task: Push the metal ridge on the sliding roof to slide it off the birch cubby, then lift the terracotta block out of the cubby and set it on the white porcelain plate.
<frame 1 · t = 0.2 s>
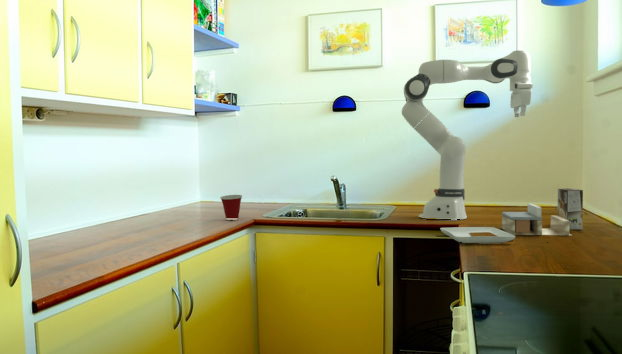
hand: (519, 116, 224), 48 cm above the worktop, tool pointing down, fingers open, 8 cm apart
plastic cup: (231, 220, 237), on the worktop
coffee box: (569, 228, 199), on the worktop
terracotta block: (521, 231, 187), point 1 cm above the worktop, touching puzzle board
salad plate: (475, 240, 178), on the worktop
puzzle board: (521, 233, 187), on the worktop
sliding roof: (521, 211, 187), point 9 cm above the worktop, slide at 0.0 cm
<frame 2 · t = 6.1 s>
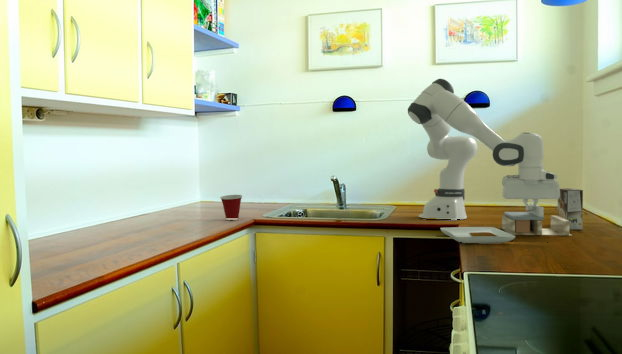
hand: (530, 210, 186), 9 cm above the worktop, tool pointing down, fingers closed
sliding roof: (523, 211, 187), point 9 cm above the worktop, slide at 0.8 cm, touching gripper
everything else where it was.
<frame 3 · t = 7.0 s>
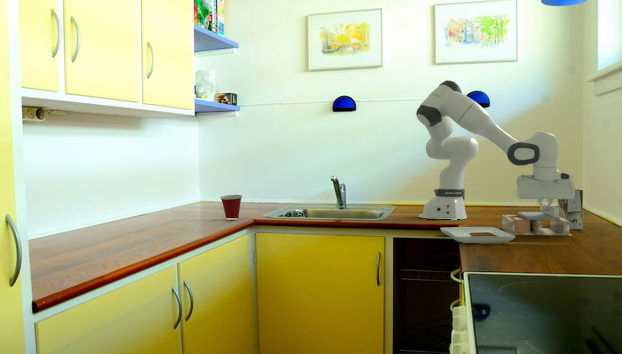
hand: (545, 210, 185), 9 cm above the worktop, tool pointing down, fingers closed
sliding roof: (537, 211, 186), point 9 cm above the worktop, slide at 6.1 cm, touching gripper
everything else where it was.
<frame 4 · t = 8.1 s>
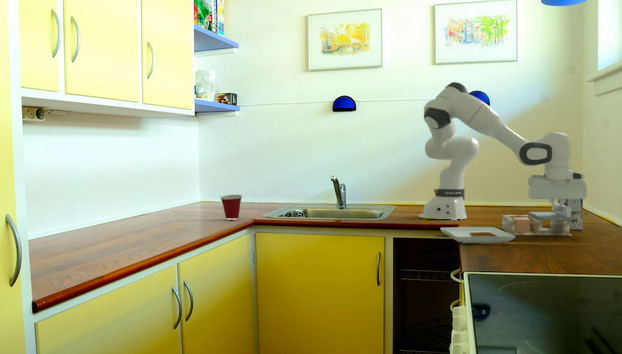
hand: (556, 210, 184), 9 cm above the worktop, tool pointing down, fingers closed
sliding roof: (549, 211, 185), point 9 cm above the worktop, slide at 10.4 cm, touching gripper
everything else where it was.
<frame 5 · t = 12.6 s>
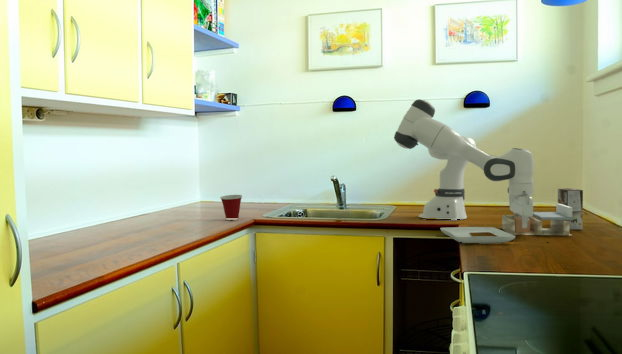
hand: (520, 225, 187), 3 cm above the worktop, tool pointing down, fingers open, 8 cm apart
sliding roof: (550, 211, 185), point 9 cm above the worktop, slide at 10.8 cm
everything else where it was.
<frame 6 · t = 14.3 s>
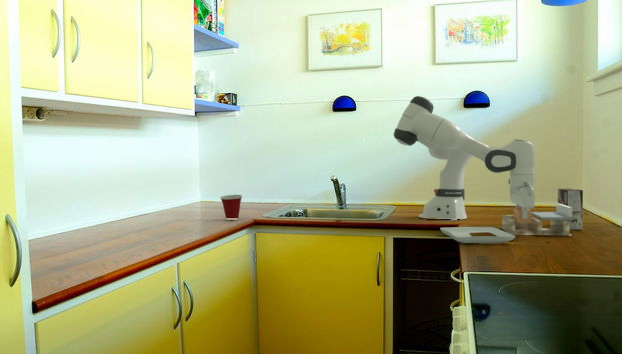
hand: (522, 217, 187), 7 cm above the worktop, tool pointing down, fingers closed on terracotta block, 5 cm apart
terracotta block: (522, 221, 187), point 5 cm above the worktop, touching gripper
everything else where it was.
when the fingers open (5 cm above the worktop, at t = 19.5 s): terracotta block stays where it is, resting on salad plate.
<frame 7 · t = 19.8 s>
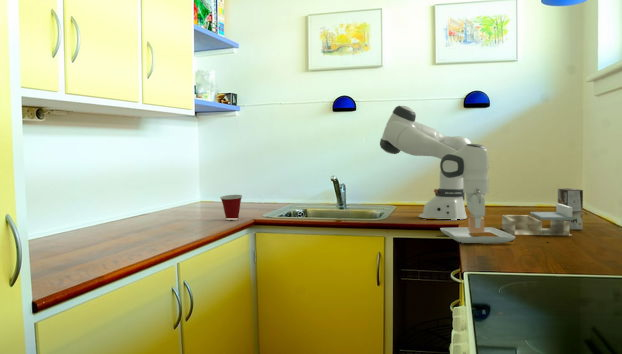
hand: (475, 225, 178), 5 cm above the worktop, tool pointing down, fingers open, 8 cm apart
terracotta block: (476, 231, 178), point 3 cm above the worktop, touching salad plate
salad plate: (475, 241, 178), on the worktop, touching terracotta block
everything else where it was.
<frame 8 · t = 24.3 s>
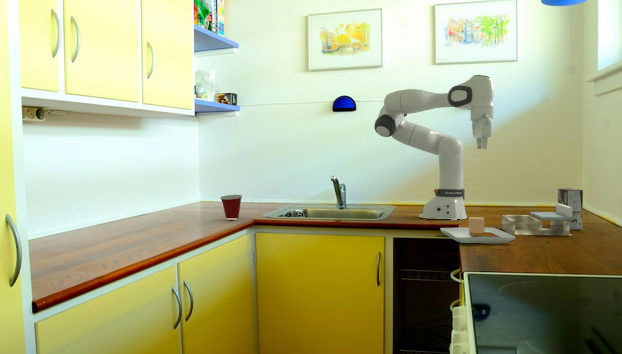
hand: (481, 149, 197), 33 cm above the worktop, tool pointing down, fingers open, 8 cm apart
nothing on the worktop moved.
at the end: sliding roof slide at 10.8 cm; terracotta block 0.3 cm from the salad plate (horizontally); terracotta block point 2.8 cm above the worktop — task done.
